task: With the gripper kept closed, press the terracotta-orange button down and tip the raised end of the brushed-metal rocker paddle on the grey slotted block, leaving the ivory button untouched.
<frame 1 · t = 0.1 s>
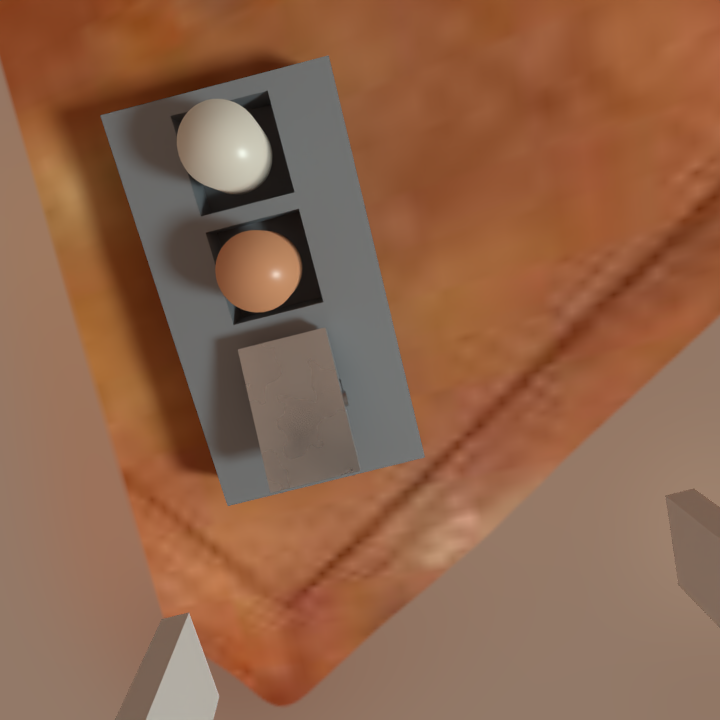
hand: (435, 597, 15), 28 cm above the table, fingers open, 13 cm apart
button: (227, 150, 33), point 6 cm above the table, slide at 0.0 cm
grey slotted block: (281, 291, 41), on the table
rocker: (300, 409, 36), point 7 cm above the table, hinge at -18.0°
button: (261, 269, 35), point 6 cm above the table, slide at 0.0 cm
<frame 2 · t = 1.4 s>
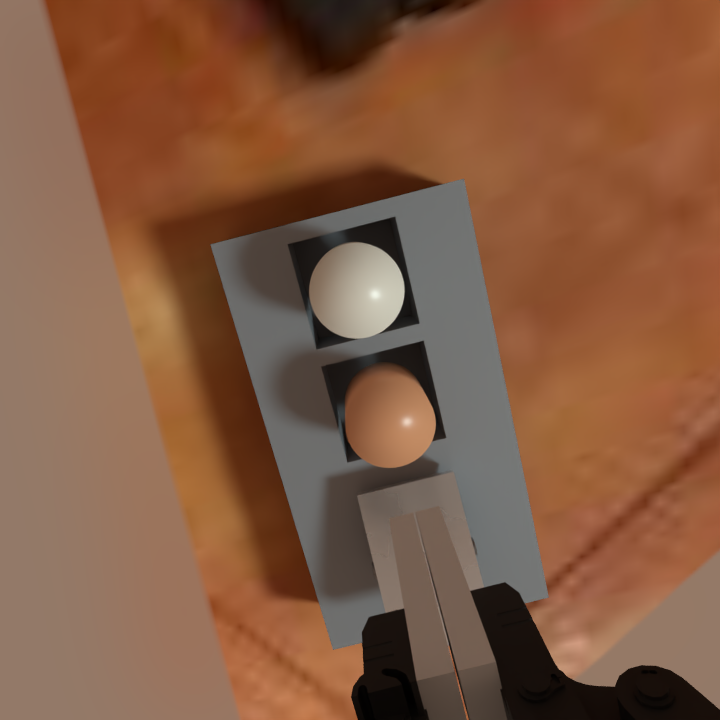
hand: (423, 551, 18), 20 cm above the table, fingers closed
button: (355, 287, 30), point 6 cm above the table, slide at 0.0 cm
grey slotted block: (386, 411, 38), on the table
rocker: (424, 559, 33), point 7 cm above the table, hinge at -18.0°
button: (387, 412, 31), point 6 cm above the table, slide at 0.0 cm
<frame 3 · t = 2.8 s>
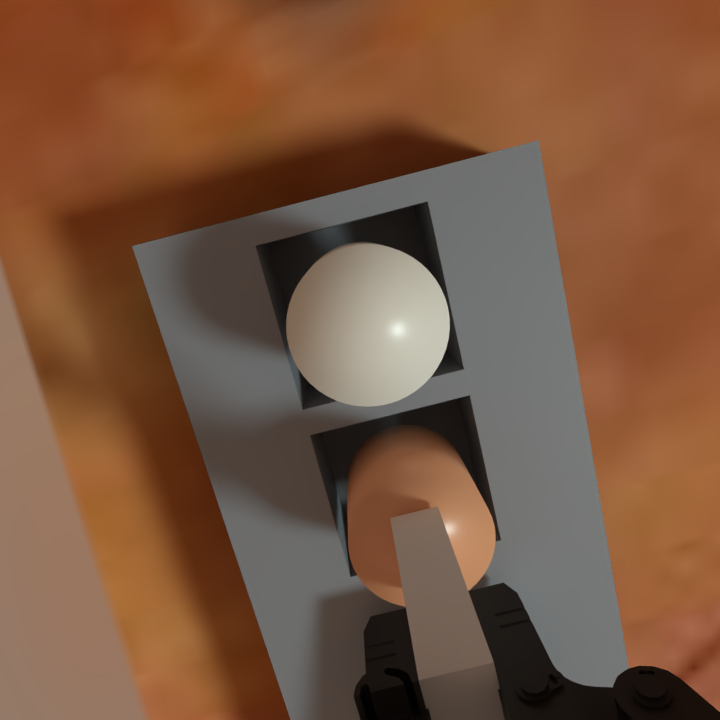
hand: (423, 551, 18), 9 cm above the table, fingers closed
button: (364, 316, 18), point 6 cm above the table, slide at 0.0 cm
grey slotted block: (406, 485, 26), on the table
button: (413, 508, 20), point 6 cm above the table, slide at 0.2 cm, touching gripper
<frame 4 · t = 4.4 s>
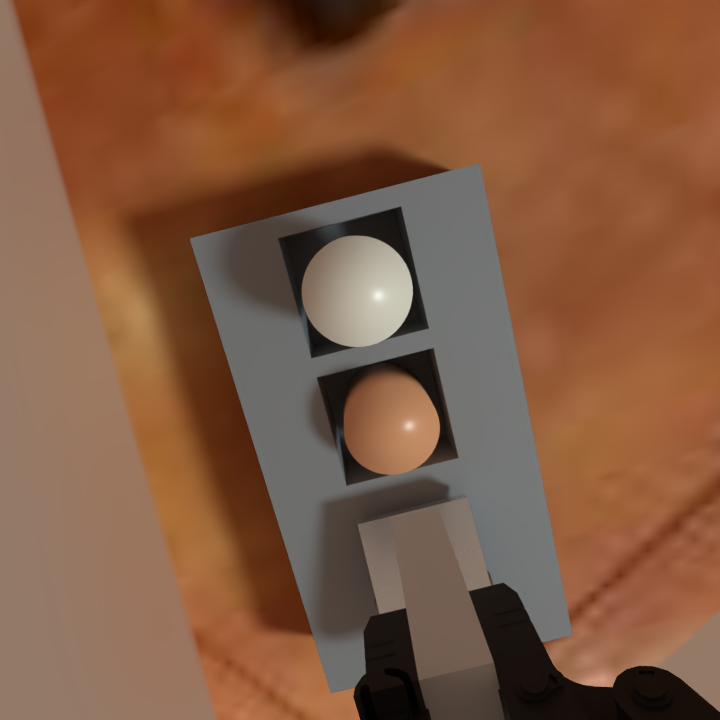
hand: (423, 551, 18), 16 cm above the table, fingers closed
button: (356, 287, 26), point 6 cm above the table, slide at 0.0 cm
grey slotted block: (390, 426, 34), on the table
rocker: (434, 596, 29), point 7 cm above the table, hinge at -18.0°
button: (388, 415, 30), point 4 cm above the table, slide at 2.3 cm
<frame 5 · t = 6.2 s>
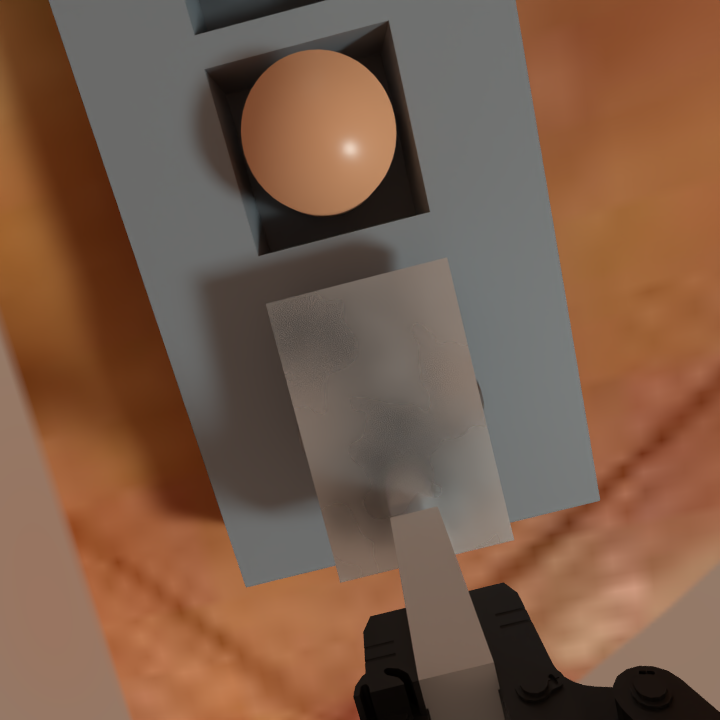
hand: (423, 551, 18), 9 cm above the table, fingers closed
grey slotted block: (336, 209, 24), on the table
rocker: (390, 418, 18), point 7 cm above the table, hinge at -7.5°, touching gripper
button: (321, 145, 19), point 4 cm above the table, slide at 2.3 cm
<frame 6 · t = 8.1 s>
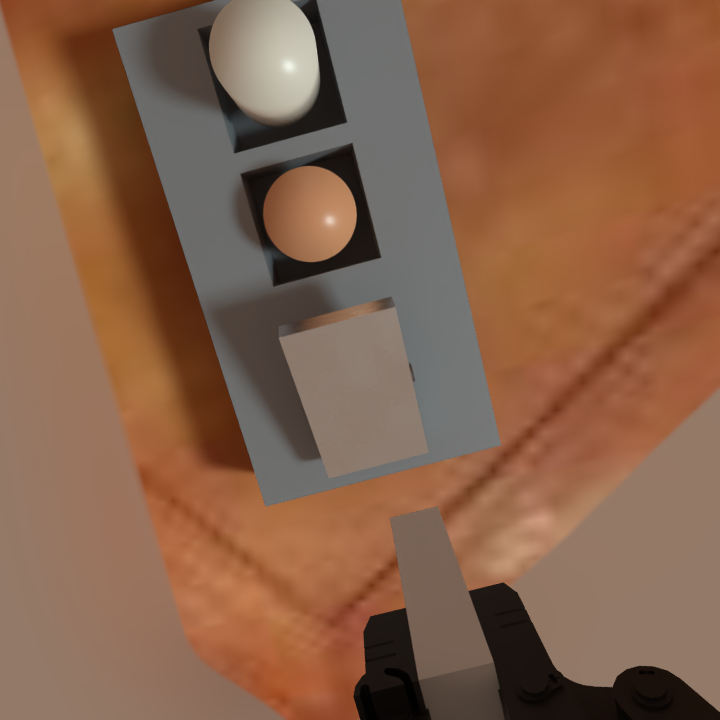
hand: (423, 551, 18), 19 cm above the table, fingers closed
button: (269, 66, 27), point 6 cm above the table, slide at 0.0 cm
grey slotted block: (324, 252, 35), on the table
rocker: (357, 390, 30), point 7 cm above the table, hinge at 19.0°
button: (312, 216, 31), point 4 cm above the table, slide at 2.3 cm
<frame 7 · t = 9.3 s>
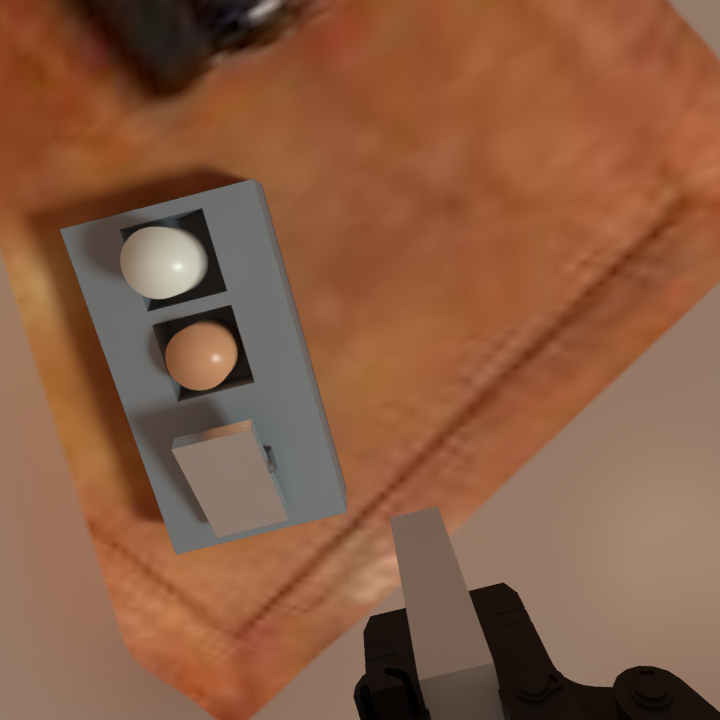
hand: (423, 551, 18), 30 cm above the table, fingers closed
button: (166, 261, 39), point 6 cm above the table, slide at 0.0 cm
grey slotted block: (224, 366, 47), on the table
rocker: (234, 478, 42), point 7 cm above the table, hinge at 19.0°
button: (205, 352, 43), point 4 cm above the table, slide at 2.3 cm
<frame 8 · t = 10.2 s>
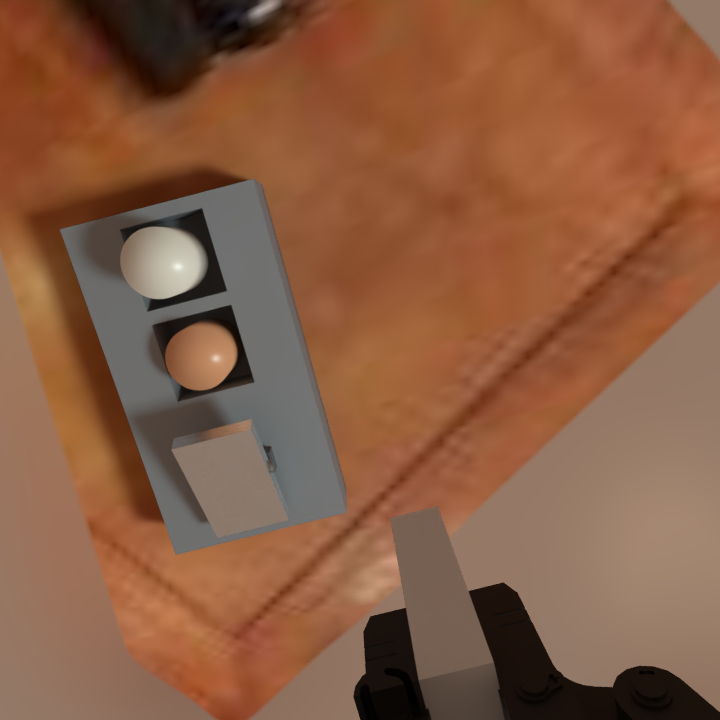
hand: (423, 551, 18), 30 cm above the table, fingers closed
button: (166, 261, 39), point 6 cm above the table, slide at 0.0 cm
grey slotted block: (223, 366, 47), on the table
rocker: (234, 478, 42), point 7 cm above the table, hinge at 19.0°
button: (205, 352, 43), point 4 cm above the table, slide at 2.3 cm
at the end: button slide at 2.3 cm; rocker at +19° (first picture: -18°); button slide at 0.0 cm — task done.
